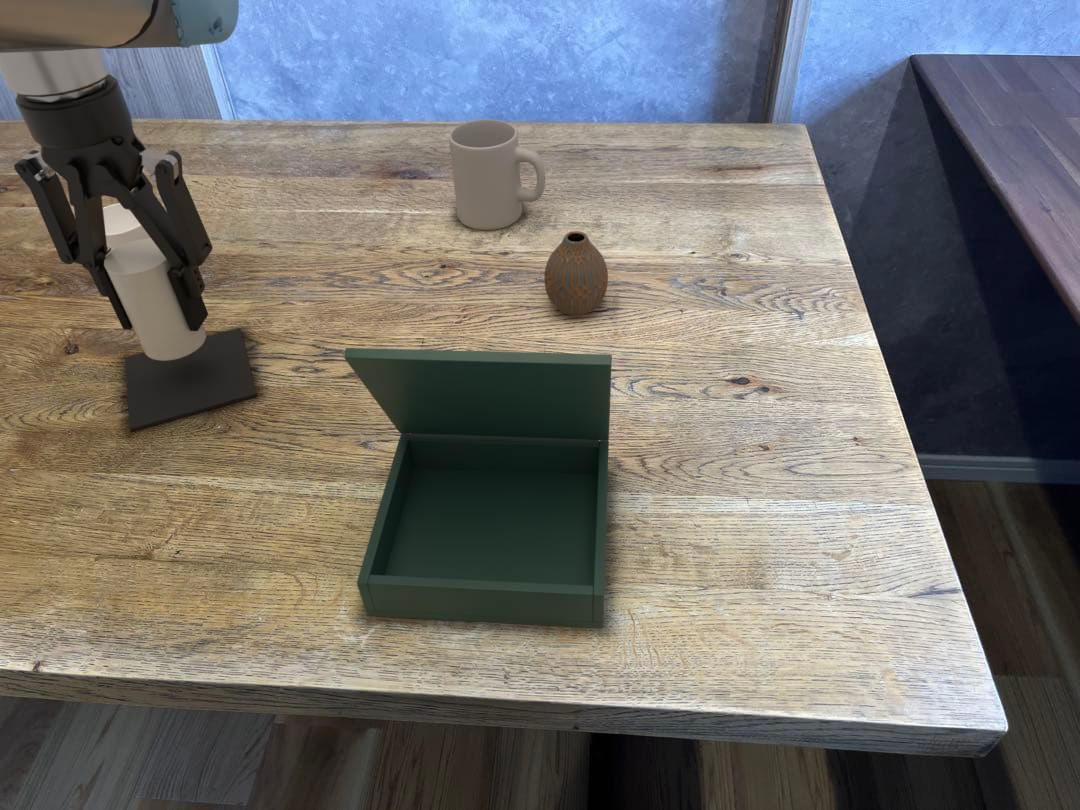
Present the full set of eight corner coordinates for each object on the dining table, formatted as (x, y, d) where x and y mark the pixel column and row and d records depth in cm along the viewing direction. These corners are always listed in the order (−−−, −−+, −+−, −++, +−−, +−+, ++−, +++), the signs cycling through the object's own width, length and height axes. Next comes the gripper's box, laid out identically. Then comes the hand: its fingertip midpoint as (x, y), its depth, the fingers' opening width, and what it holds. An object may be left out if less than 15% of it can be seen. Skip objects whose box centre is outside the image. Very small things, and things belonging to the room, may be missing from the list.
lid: (611, 365, 54) (611, 354, 54) (343, 358, 55) (345, 347, 55) (608, 440, 69) (609, 431, 69) (399, 433, 70) (400, 424, 71)
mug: (447, 226, 105) (437, 144, 98) (471, 194, 111) (463, 115, 103) (536, 238, 102) (532, 155, 95) (555, 205, 108) (553, 124, 101)
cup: (125, 292, 96) (103, 242, 92) (84, 264, 101) (60, 215, 97) (183, 263, 100) (164, 214, 96) (140, 238, 105) (120, 190, 101)
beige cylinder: (164, 369, 78) (125, 281, 71) (131, 345, 81) (90, 259, 74) (218, 338, 81) (185, 251, 75) (185, 316, 84) (150, 231, 77)
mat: (257, 396, 82) (256, 393, 81) (131, 431, 78) (129, 428, 78) (241, 330, 90) (240, 327, 90) (126, 360, 87) (124, 357, 86)
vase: (570, 331, 88) (570, 262, 82) (533, 302, 92) (529, 234, 86) (619, 308, 90) (622, 239, 85) (581, 281, 95) (581, 213, 89)
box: (603, 628, 61) (604, 595, 58) (366, 616, 62) (356, 582, 59) (607, 474, 72) (608, 439, 69) (408, 466, 74) (401, 432, 71)
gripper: (199, 65, 66) (273, 301, 81) (-22, 66, 67) (92, 297, 83) (160, 103, 60) (247, 348, 76) (-80, 103, 62) (53, 343, 77)
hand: (166, 321), depth 79 cm, fingers closed on beige cylinder, 6 cm apart
